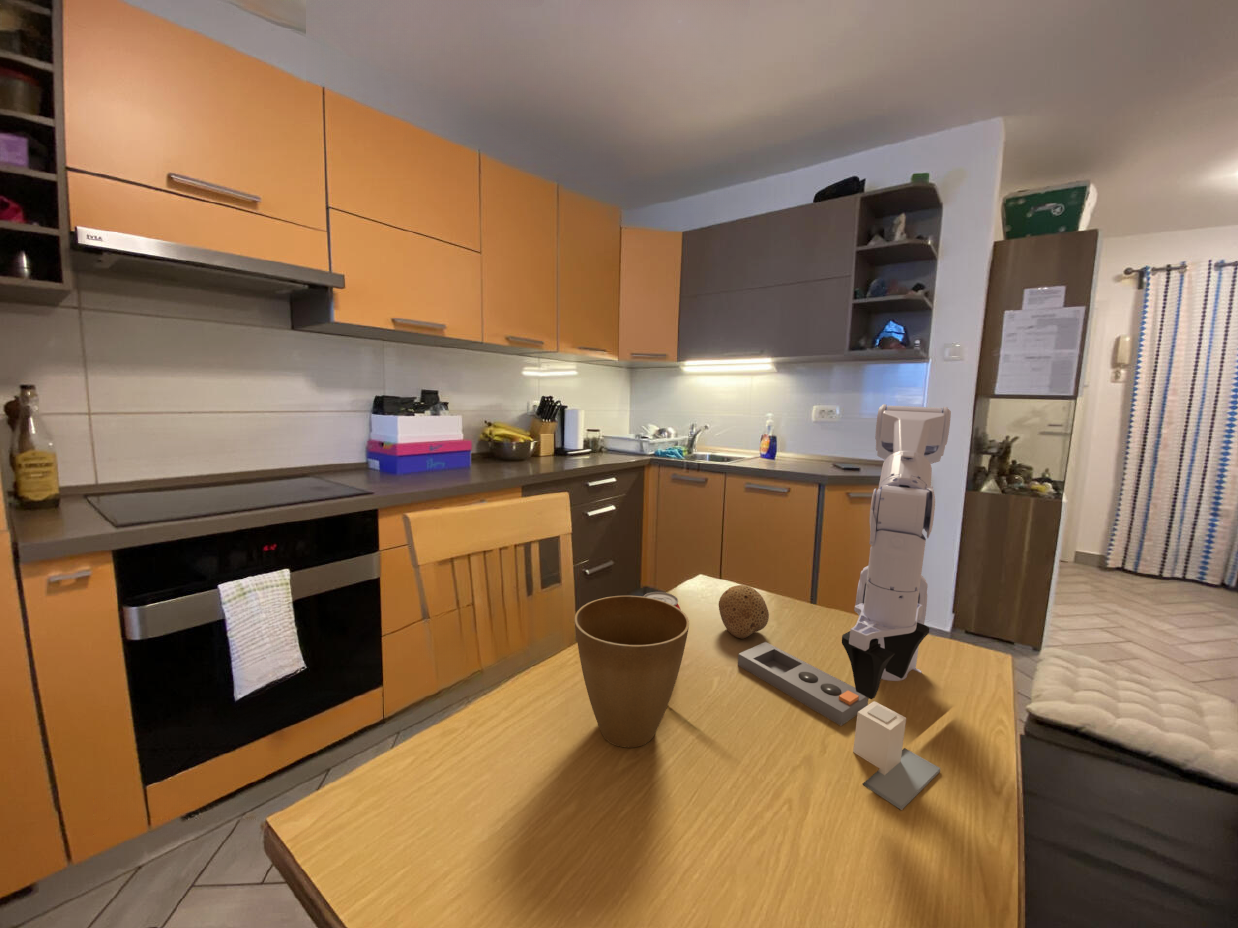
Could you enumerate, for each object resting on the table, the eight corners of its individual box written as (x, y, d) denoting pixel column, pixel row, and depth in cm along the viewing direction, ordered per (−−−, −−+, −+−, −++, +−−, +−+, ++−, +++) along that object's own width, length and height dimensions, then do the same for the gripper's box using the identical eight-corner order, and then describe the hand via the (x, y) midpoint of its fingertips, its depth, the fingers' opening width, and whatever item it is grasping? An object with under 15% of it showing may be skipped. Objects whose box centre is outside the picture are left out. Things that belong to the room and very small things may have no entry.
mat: (860, 726, 70) (861, 723, 70) (939, 771, 62) (940, 767, 62) (819, 756, 64) (820, 752, 64) (901, 810, 56) (902, 806, 56)
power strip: (764, 657, 87) (765, 639, 87) (866, 713, 73) (869, 691, 72) (737, 670, 83) (738, 650, 82) (840, 732, 69) (842, 708, 68)
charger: (869, 742, 66) (874, 699, 65) (900, 761, 63) (906, 716, 62) (852, 755, 64) (857, 710, 63) (884, 775, 61) (890, 728, 60)
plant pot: (706, 745, 66) (713, 629, 63) (604, 785, 58) (607, 657, 56) (645, 684, 78) (649, 586, 76) (555, 712, 71) (556, 605, 69)
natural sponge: (751, 623, 100) (755, 575, 98) (776, 646, 91) (781, 594, 90) (709, 628, 97) (712, 579, 96) (731, 652, 89) (735, 598, 87)
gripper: (888, 561, 70) (877, 652, 72) (829, 584, 61) (819, 687, 63) (944, 578, 64) (931, 676, 66) (889, 606, 55) (876, 718, 58)
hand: (880, 683), depth 64 cm, fingers open, 7 cm apart
